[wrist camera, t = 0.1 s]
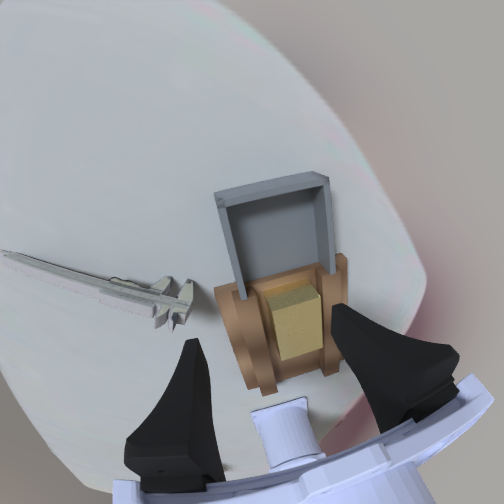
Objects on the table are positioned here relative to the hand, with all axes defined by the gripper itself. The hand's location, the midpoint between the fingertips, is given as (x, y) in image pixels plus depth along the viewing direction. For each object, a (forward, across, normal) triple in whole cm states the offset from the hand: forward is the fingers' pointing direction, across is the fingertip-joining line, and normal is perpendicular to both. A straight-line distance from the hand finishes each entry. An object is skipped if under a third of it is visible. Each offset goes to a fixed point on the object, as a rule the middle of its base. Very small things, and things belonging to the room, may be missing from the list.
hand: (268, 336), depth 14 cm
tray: (+10, -3, -2) cm, 11 cm away
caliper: (+10, +14, -2) cm, 18 cm away
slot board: (+10, -4, +9) cm, 14 cm away
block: (+9, -4, +6) cm, 11 cm away
